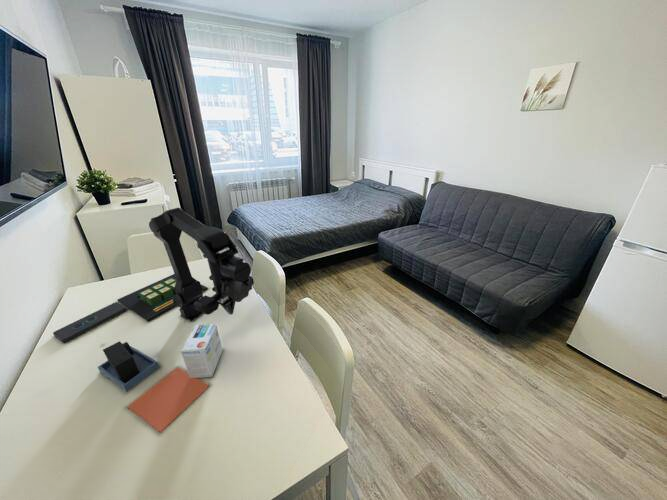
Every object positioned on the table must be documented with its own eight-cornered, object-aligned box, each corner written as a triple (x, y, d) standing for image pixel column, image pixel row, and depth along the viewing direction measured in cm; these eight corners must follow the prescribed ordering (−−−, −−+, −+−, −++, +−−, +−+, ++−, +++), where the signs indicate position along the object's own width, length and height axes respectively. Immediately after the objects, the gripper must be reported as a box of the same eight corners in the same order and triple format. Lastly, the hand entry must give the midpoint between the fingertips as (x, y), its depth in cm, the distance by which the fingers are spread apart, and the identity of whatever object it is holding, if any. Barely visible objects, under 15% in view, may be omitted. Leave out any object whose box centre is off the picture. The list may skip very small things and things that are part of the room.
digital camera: (145, 371, 79) (137, 354, 76) (123, 384, 75) (114, 366, 72) (132, 355, 85) (124, 338, 82) (111, 366, 81) (102, 349, 78)
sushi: (148, 321, 100) (145, 313, 99) (117, 301, 113) (114, 293, 111) (207, 289, 119) (205, 282, 118) (176, 274, 132) (174, 268, 130)
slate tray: (133, 351, 87) (130, 345, 86) (159, 367, 81) (157, 361, 80) (100, 372, 80) (97, 367, 79) (127, 392, 74) (123, 386, 73)
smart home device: (51, 332, 94) (115, 301, 110) (54, 335, 95) (117, 304, 110) (61, 340, 90) (126, 307, 106) (64, 344, 91) (128, 310, 107)
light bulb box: (202, 351, 86) (194, 324, 82) (223, 349, 87) (217, 322, 82) (188, 379, 77) (179, 350, 72) (213, 377, 77) (205, 348, 73)
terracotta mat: (177, 367, 81) (177, 367, 81) (209, 385, 75) (209, 385, 75) (127, 407, 70) (127, 406, 70) (160, 432, 64) (160, 432, 64)
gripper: (214, 295, 69) (226, 341, 76) (263, 264, 84) (269, 304, 91) (186, 285, 74) (199, 329, 81) (237, 257, 89) (244, 296, 96)
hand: (231, 313), depth 87 cm, fingers closed
